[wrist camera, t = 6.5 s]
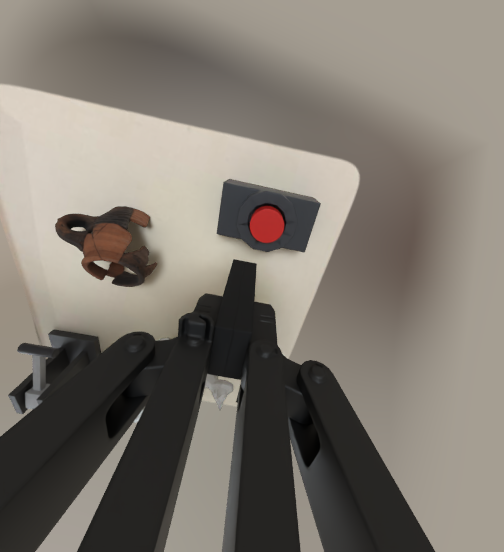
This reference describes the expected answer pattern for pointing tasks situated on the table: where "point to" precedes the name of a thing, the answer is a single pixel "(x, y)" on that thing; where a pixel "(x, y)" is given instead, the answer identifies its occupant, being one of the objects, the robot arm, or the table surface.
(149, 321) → the table surface
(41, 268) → the table surface
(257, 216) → the power button
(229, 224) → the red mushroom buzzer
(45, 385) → the lever handle
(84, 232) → the pottery mug
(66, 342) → the hinged clamp bracket
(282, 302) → the table surface
